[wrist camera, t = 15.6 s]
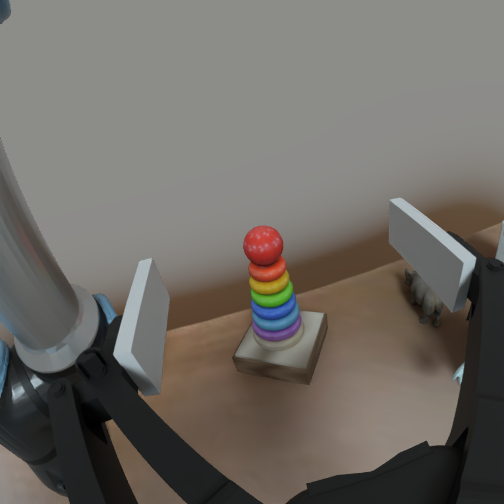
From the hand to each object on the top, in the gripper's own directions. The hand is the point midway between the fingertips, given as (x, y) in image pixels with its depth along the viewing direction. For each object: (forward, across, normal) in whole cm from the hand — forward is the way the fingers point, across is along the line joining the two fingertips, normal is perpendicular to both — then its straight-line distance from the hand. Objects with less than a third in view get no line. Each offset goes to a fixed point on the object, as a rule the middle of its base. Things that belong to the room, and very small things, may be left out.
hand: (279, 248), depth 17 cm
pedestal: (+21, 0, -32) cm, 38 cm away
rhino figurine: (+22, +26, -32) cm, 47 cm away
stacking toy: (+21, 0, -28) cm, 35 cm away
